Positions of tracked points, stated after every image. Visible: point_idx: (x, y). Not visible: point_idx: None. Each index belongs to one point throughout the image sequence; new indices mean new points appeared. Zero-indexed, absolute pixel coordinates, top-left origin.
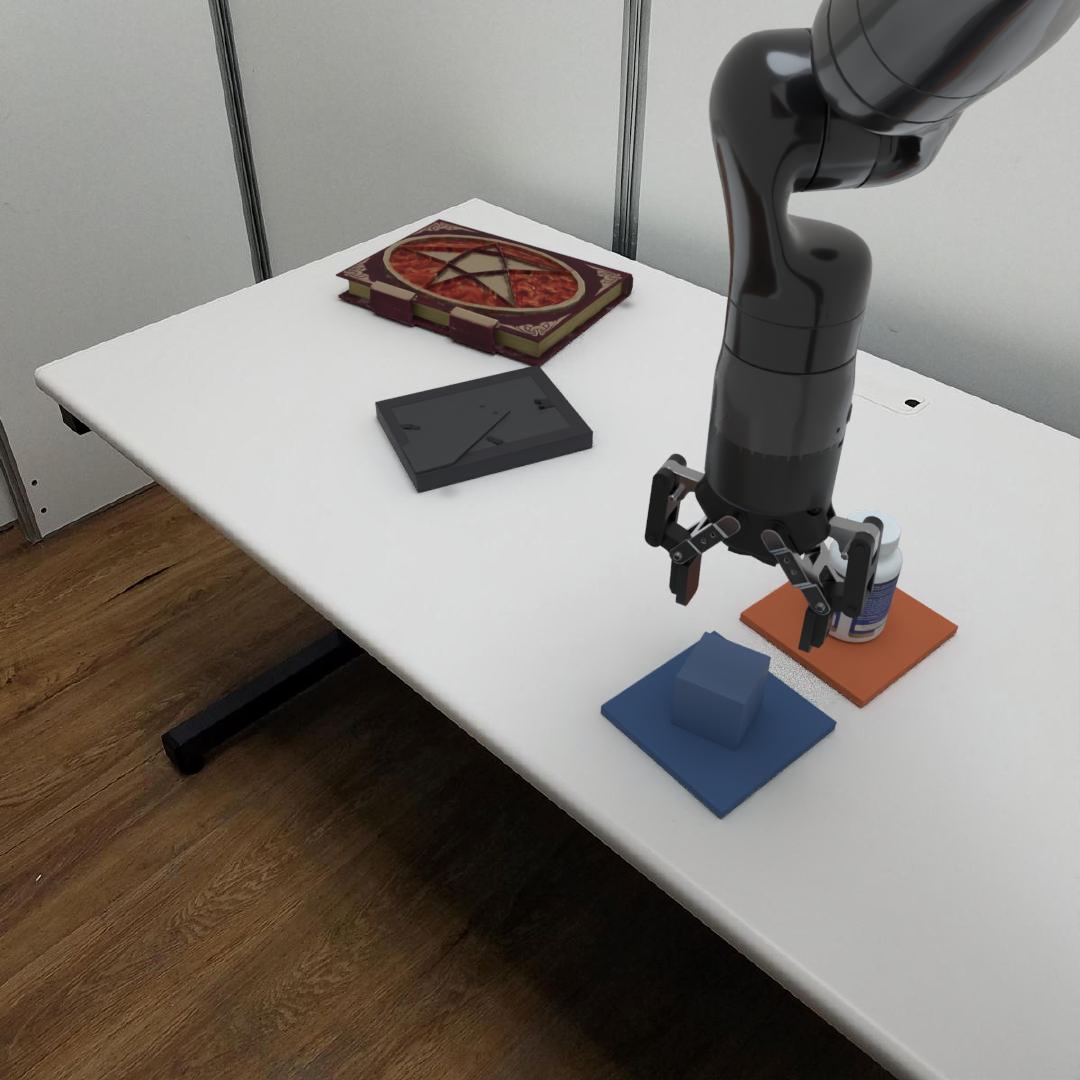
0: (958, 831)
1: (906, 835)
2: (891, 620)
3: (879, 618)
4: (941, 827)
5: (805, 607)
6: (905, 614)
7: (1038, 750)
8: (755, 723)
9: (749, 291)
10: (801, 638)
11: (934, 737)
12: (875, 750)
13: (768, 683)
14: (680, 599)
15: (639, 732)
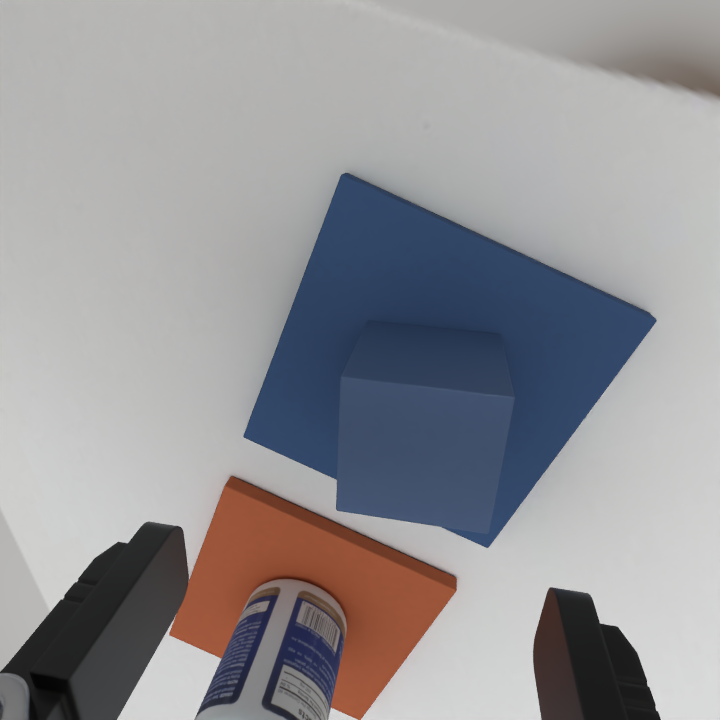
0: (37, 319)
1: (87, 281)
2: None
3: (235, 629)
4: (57, 316)
5: (364, 621)
6: None
7: (21, 482)
8: None
9: None
10: (145, 560)
11: (129, 460)
12: (185, 411)
13: None
14: (577, 609)
15: (555, 288)
